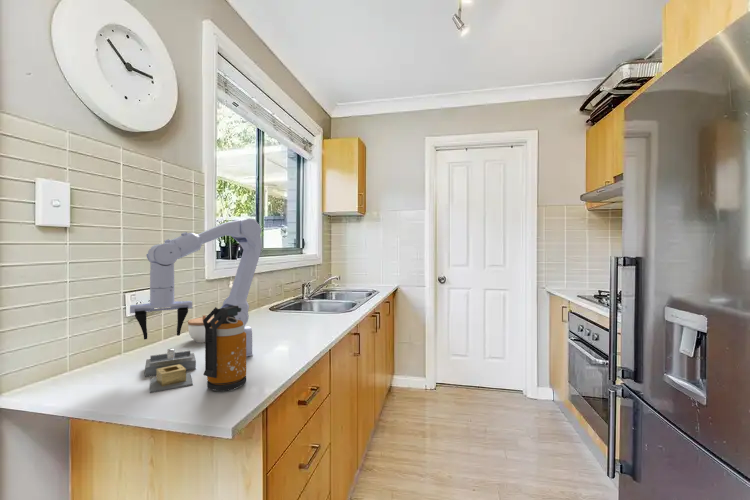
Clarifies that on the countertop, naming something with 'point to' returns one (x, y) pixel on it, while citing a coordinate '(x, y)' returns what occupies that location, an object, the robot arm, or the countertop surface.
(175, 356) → the block
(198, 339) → the lidded jar
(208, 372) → the canister
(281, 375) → the countertop surface
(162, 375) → the brass square ring
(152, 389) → the rubber mat
